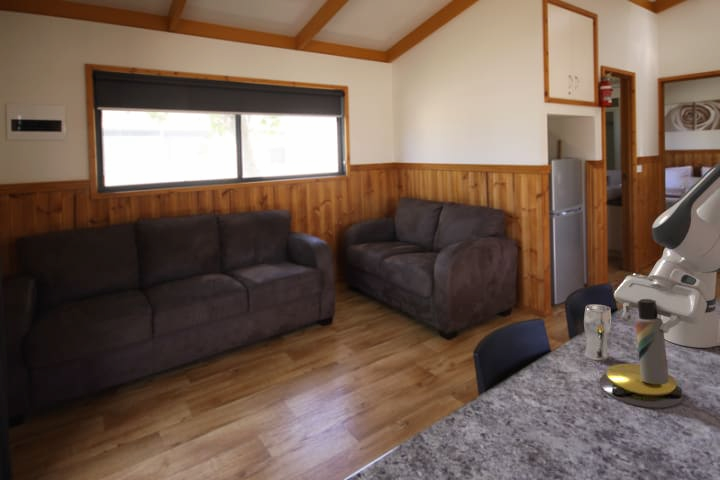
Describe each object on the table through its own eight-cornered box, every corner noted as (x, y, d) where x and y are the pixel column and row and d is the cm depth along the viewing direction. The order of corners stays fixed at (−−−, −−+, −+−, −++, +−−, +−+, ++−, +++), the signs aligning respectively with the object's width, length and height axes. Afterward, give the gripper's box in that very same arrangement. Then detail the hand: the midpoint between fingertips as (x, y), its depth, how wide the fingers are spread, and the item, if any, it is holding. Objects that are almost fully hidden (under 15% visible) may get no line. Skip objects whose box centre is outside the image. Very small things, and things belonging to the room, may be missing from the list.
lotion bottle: (663, 377, 115) (654, 297, 116) (673, 384, 110) (664, 300, 110) (638, 378, 116) (629, 299, 117) (646, 384, 111) (637, 301, 112)
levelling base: (607, 367, 130) (607, 355, 129) (685, 383, 119) (686, 371, 118) (592, 395, 116) (593, 382, 115) (679, 416, 105) (680, 403, 104)
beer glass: (612, 361, 133) (615, 312, 130) (586, 361, 134) (588, 311, 131) (605, 351, 139) (607, 304, 137) (580, 350, 141) (581, 303, 138)
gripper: (624, 265, 125) (599, 307, 123) (708, 282, 107) (681, 331, 105) (634, 279, 128) (609, 319, 125) (717, 297, 110) (691, 345, 107)
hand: (642, 325), depth 115 cm, fingers open, 8 cm apart
